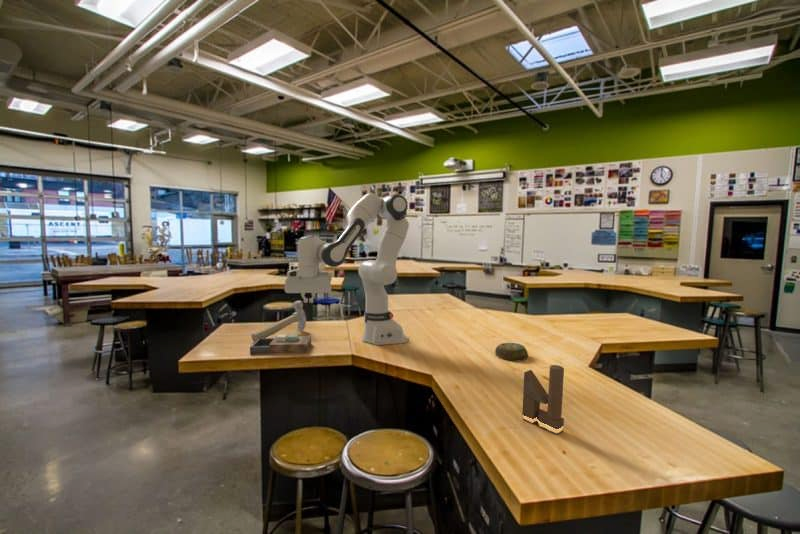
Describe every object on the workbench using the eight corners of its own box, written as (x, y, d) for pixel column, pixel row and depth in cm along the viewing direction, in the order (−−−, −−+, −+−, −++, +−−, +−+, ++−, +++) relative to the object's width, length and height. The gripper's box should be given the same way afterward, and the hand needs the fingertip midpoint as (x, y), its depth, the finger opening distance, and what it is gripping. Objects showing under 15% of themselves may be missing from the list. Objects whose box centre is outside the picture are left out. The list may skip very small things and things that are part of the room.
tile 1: (287, 338, 171) (287, 334, 171) (285, 341, 167) (285, 337, 167) (278, 338, 170) (278, 334, 170) (276, 341, 166) (276, 337, 166)
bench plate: (311, 344, 176) (311, 335, 176) (306, 353, 164) (306, 344, 163) (276, 344, 175) (276, 336, 175) (269, 353, 162) (268, 344, 162)
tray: (276, 344, 175) (276, 338, 175) (269, 353, 162) (268, 346, 162) (259, 344, 174) (258, 338, 174) (250, 353, 162) (249, 347, 161)
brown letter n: (528, 415, 111) (531, 356, 109) (563, 431, 102) (567, 367, 100) (521, 419, 108) (524, 359, 106) (556, 435, 100) (560, 370, 98)
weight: (489, 353, 167) (489, 342, 166) (514, 350, 171) (514, 339, 171) (507, 363, 154) (507, 351, 154) (534, 360, 159) (534, 348, 158)
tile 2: (298, 338, 171) (298, 334, 171) (296, 341, 167) (296, 336, 167) (289, 338, 171) (289, 334, 171) (287, 341, 167) (287, 337, 167)
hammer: (253, 324, 173) (303, 301, 196) (247, 323, 176) (297, 299, 199) (260, 354, 178) (309, 328, 200) (255, 352, 180) (303, 326, 203)
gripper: (332, 271, 170) (332, 301, 172) (286, 271, 169) (287, 301, 170) (330, 273, 164) (331, 303, 166) (283, 272, 163) (283, 304, 164)
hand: (308, 302), depth 168 cm, fingers closed
